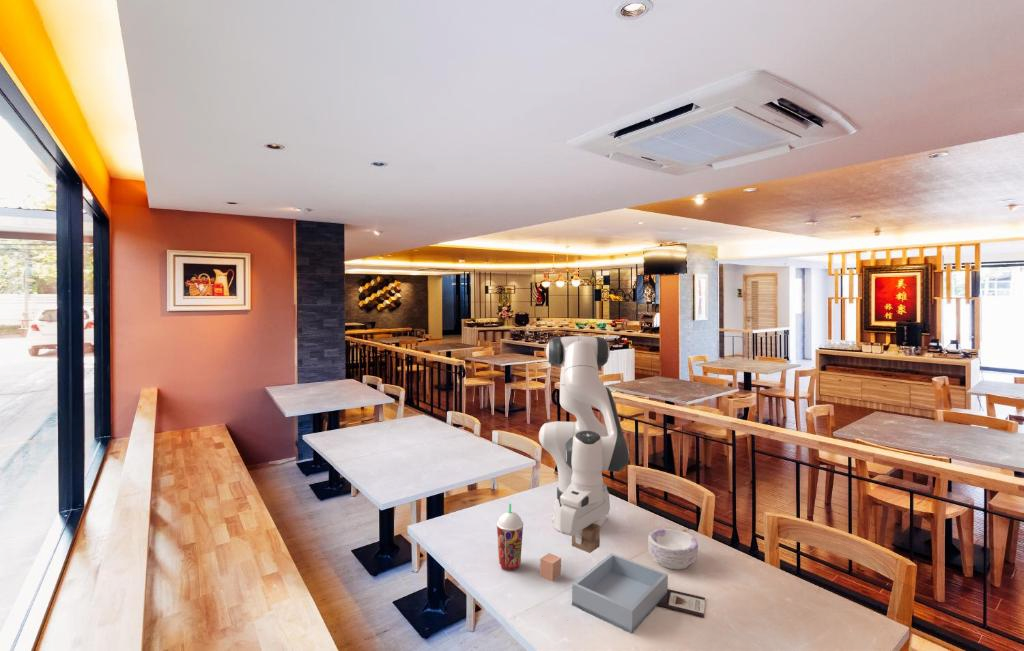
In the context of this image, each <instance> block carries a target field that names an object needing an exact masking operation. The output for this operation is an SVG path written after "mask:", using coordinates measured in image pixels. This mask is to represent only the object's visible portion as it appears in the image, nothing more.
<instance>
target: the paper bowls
mask: <svg viewBox="0 0 1024 651" xmlns="http://www.w3.org/2000/svg"><path fill="white" fill-rule="evenodd" d="M647 540H648V541H647V542H648V543H647V549H648V550H647V551H648V553H649V555H650V556H651V557H653V558H654V559H655V561H656V562H657V563H658V564H659V565H660V566H662V567H664V568H667V569H669V570H676V571H677V570H678V571H679V570H684V569H686V568H688V567H689V566H690V564H692V563H695V562H696V561H697V560H698V554H699V542H698V540H697V539H696V538H695V536H694V535H692V534H690V533H689V532H686V531H682V530H679V529H674V528H658V529H656V530H653V531H651V532H650V533H649V534H648V539H647Z"/></svg>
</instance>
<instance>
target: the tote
mask: <svg viewBox="0 0 1024 651" xmlns="http://www.w3.org/2000/svg"><path fill="white" fill-rule="evenodd" d="M668 576H669V574H668V573H665V572H663V571H661V570H658V569H655V568H652V567H649V566H647V565H645V564H642V563H639V562H636V561H633V560H632V559H628V558H626V557H624V556H620V555H618V554H615V553H612V552H611V553H610V554H609V555H608V556H606V557H605V558H603V559H602V560H601V561H600V562H598V563H597V564H596V565H595V566H593V567H592V568H591V569H590V570H588V571H587V572H586V573H584V574H583V575H582V576H580V577H579V578H578V579H577V580H575V582H573V583H572V584H571V586H572V587H571V605H572V606H573V607H575V608H577V609H579V610H581V611H583V612H585V613H588V614H590V615H592V616H594V617H596V618H598V619H600V620H603V621H604V622H607V623H609V624H610V625H613V626H615V627H617V628H619V629H622V630H623V631H625V632H627V633H629V634H633V633H634V632H635V631H636V630H637V628H639V626H641V624H642V623H643V622H644V621H645V620H646V619H647V618H648V617H649V615H650V614H651V613H653V611H654V610H655V609H656V608H658V607H657V604H658V603H659V602H660V600H661V599H662V598H663V597H664V596H665V595H666V594H667V589H668V583H669V582H668V580H669V579H668V578H669V577H668Z"/></svg>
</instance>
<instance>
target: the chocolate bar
mask: <svg viewBox="0 0 1024 651" xmlns="http://www.w3.org/2000/svg"><path fill="white" fill-rule="evenodd" d="M705 601H706V597H703V596H699V595H695V594H691V593H687V592H682V591H678V590H673V589H669V588H667V594H666V595H665V596H664V597H663V598H662V599H661V600H660V602H659V603H658V604H657V607H656V608H660V609H664V610H669V611H673V612H678V613H681V614H685V615H688V616H689V615H690V616H693V617H698V618H702V619H704V616H705V604H706V602H705Z"/></svg>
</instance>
